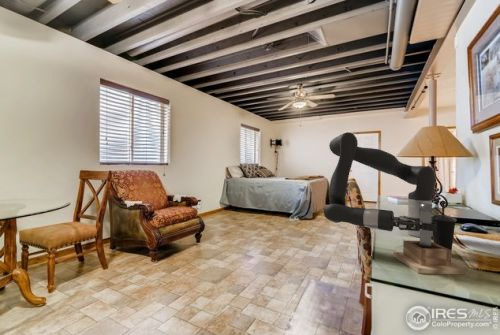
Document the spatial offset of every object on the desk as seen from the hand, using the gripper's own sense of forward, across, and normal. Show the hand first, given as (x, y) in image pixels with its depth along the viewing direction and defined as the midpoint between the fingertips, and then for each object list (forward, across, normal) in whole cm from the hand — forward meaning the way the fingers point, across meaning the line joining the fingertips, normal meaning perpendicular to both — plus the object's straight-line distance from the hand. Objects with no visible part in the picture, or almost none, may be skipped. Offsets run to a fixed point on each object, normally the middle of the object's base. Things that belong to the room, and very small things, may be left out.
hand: (436, 227), depth 78 cm
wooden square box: (-3, 0, +13) cm, 13 cm away
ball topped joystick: (-3, 0, +9) cm, 10 cm away
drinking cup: (+2, +16, +13) cm, 21 cm away
